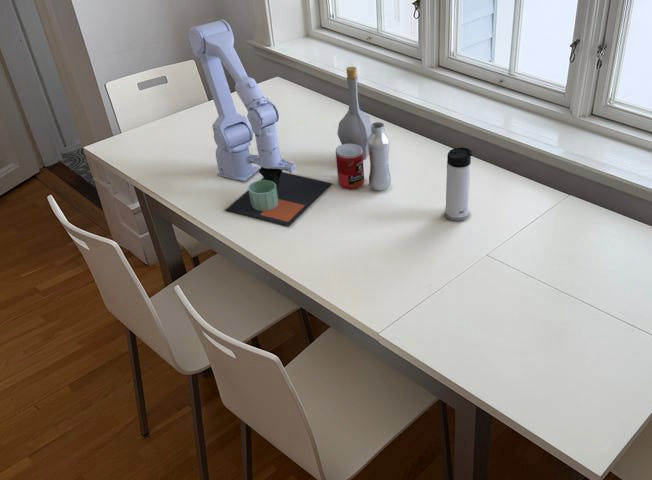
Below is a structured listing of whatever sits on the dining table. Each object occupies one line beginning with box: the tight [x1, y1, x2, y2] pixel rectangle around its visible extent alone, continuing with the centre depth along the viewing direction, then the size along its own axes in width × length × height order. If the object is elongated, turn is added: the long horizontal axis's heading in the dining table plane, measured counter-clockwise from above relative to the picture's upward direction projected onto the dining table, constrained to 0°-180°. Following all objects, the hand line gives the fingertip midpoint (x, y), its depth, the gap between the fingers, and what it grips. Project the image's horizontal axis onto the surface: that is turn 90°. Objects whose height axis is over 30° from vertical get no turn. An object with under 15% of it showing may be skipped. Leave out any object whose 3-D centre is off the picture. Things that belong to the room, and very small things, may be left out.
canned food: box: [335, 144, 365, 190], centre depth 194 cm, size 8×8×11 cm
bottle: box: [336, 66, 372, 161], centre depth 198 cm, size 11×11×30 cm
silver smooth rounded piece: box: [367, 121, 392, 192], centre depth 189 cm, size 6×7×20 cm
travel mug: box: [445, 147, 474, 222], centre depth 179 cm, size 6×7×20 cm
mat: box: [225, 171, 332, 228], centre depth 190 cm, size 20×24×1 cm
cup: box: [247, 179, 279, 211], centre depth 185 cm, size 7×7×6 cm
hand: (274, 189), depth 190 cm, fingers closed, pressing on cup
